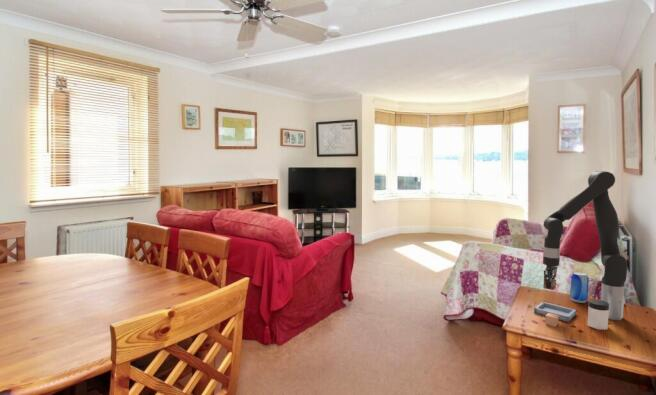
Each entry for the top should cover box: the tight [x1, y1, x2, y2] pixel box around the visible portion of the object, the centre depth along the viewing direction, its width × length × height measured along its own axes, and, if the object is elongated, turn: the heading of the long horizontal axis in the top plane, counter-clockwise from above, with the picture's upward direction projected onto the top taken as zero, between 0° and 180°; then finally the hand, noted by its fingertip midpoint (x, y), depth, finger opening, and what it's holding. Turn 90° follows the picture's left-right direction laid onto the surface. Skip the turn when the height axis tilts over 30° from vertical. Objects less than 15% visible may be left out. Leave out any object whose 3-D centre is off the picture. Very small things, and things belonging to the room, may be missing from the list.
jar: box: [586, 298, 609, 331], centre depth 183 cm, size 9×8×12 cm
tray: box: [533, 301, 577, 323], centre depth 198 cm, size 16×13×2 cm
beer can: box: [569, 271, 590, 304], centre depth 215 cm, size 8×8×16 cm
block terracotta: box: [544, 313, 560, 328], centre depth 186 cm, size 4×4×4 cm
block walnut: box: [543, 278, 557, 291], centre depth 199 cm, size 4×4×4 cm
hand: (549, 287), depth 199 cm, fingers closed on block walnut, 4 cm apart
